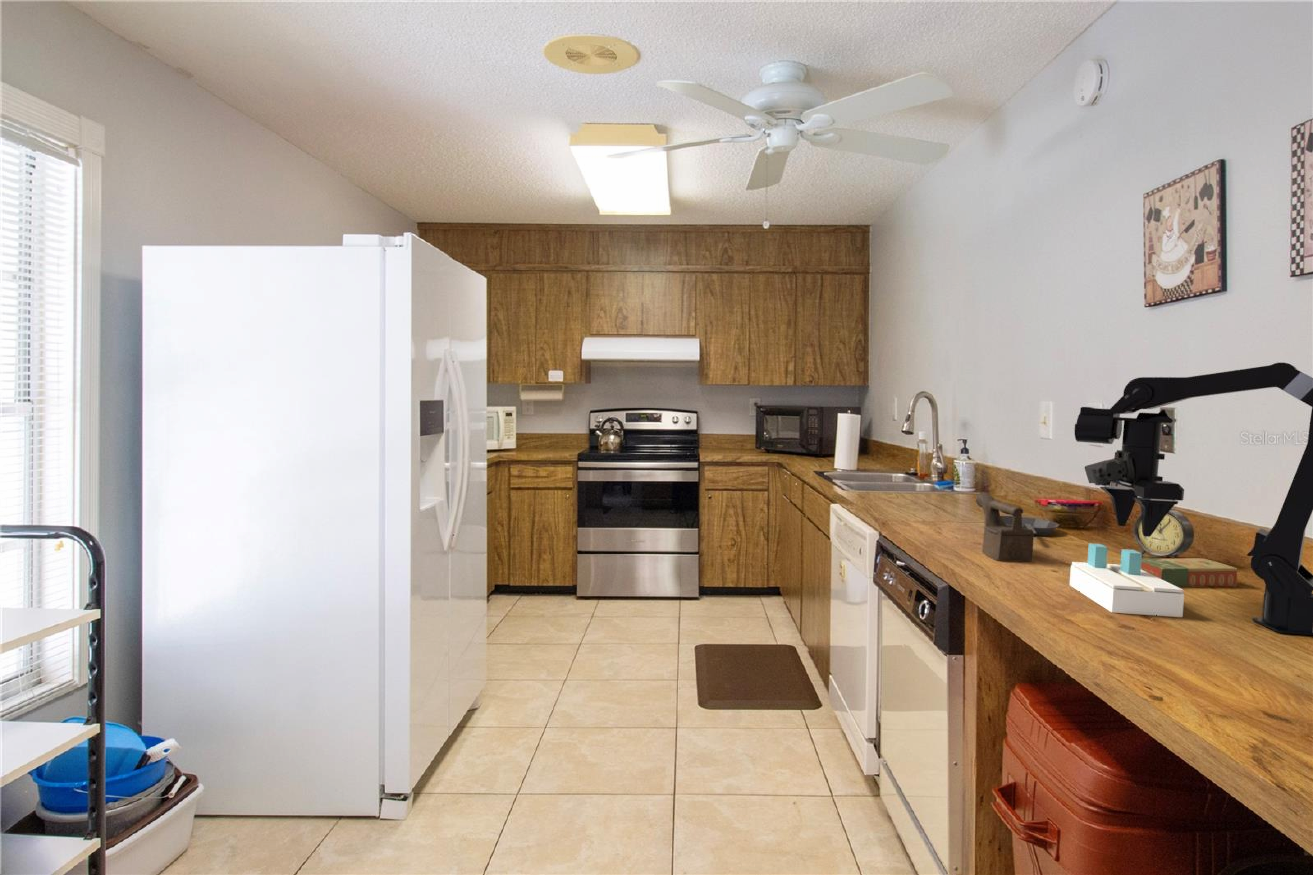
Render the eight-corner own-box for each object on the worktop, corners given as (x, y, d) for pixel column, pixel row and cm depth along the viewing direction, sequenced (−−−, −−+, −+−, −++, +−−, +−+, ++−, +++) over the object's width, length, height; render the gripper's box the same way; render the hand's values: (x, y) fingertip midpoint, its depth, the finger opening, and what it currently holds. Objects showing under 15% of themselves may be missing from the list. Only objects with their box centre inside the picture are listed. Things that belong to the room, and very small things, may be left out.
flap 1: (1071, 564, 136) (1073, 541, 136) (1096, 565, 135) (1098, 543, 135) (1113, 588, 119) (1115, 562, 119) (1142, 590, 119) (1144, 564, 118)
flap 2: (1183, 592, 118) (1185, 566, 117) (1153, 590, 119) (1155, 564, 118) (1132, 567, 134) (1134, 544, 134) (1107, 566, 135) (1108, 543, 135)
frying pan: (1053, 528, 196) (1054, 515, 196) (1075, 552, 167) (1076, 536, 166) (983, 522, 203) (984, 509, 203) (992, 544, 173) (993, 529, 173)
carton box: (1182, 617, 118) (1184, 593, 118) (1111, 612, 120) (1113, 589, 119) (1130, 589, 135) (1132, 568, 134) (1069, 585, 136) (1070, 564, 136)
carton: (1237, 588, 138) (1239, 567, 138) (1160, 588, 137) (1162, 567, 137) (1201, 577, 146) (1203, 557, 146) (1129, 576, 145) (1130, 556, 145)
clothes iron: (997, 546, 170) (1001, 492, 169) (1034, 562, 154) (1038, 502, 153) (965, 546, 170) (968, 491, 169) (999, 562, 154) (1002, 502, 153)
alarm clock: (1130, 555, 163) (1135, 487, 162) (1144, 553, 166) (1149, 486, 165) (1181, 567, 154) (1187, 494, 152) (1195, 564, 156) (1201, 493, 155)
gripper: (1071, 440, 137) (1065, 518, 138) (1117, 449, 119) (1109, 539, 120) (1133, 443, 135) (1126, 522, 137) (1189, 452, 117) (1181, 543, 118)
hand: (1133, 530), depth 128 cm, fingers open, 9 cm apart
